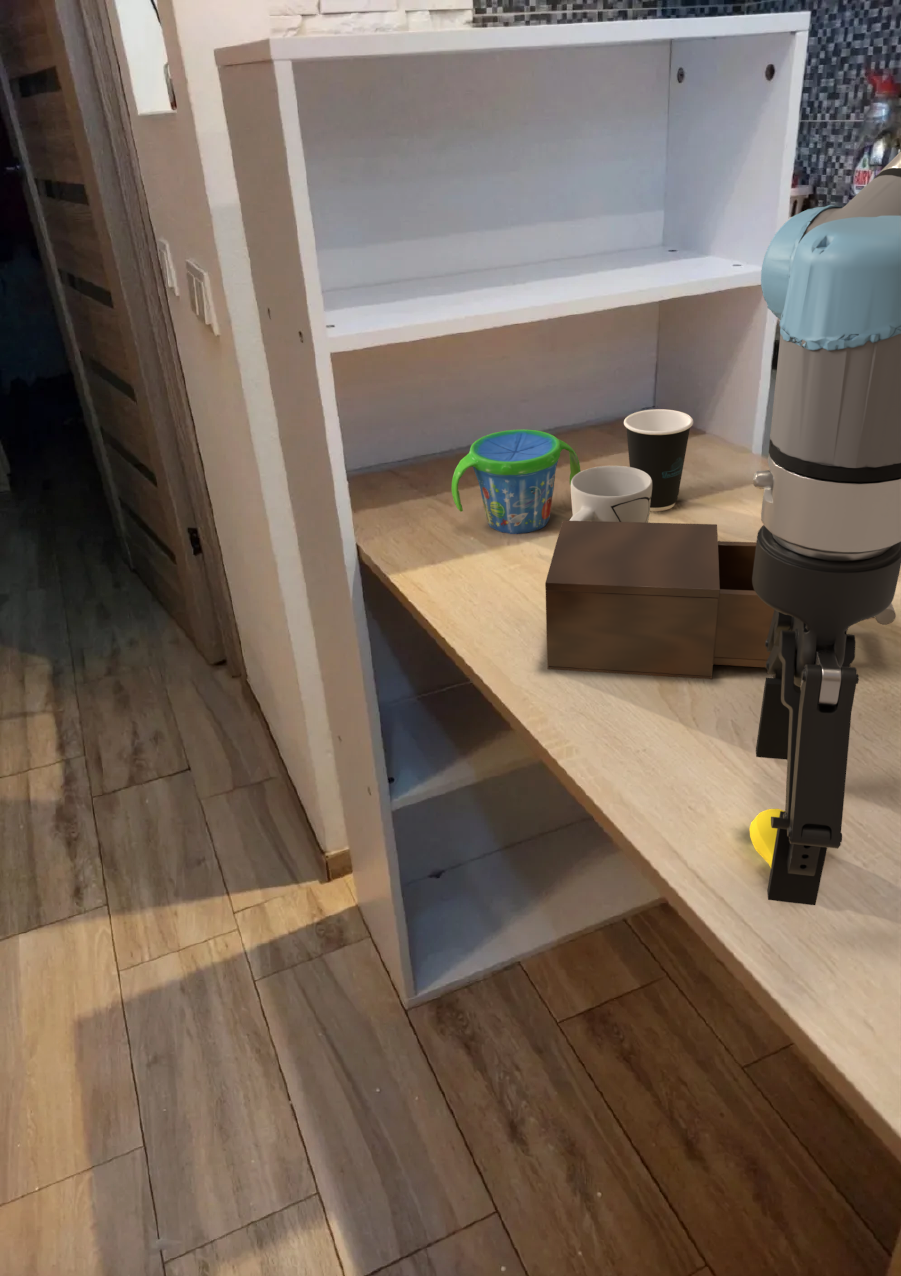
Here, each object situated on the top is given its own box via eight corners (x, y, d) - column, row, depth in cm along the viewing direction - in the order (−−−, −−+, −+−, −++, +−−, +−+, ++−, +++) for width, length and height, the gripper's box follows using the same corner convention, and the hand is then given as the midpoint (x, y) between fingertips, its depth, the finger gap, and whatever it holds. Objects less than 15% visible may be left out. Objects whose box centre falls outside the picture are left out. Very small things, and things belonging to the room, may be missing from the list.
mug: (604, 603, 95) (605, 514, 90) (539, 580, 100) (536, 495, 95) (663, 560, 102) (668, 475, 97) (600, 541, 107) (600, 459, 102)
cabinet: (709, 611, 92) (717, 524, 87) (711, 684, 82) (719, 589, 77) (563, 604, 96) (562, 520, 91) (547, 673, 85) (545, 582, 80)
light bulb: (778, 826, 67) (804, 801, 64) (801, 905, 63) (829, 881, 60) (736, 821, 66) (760, 795, 64) (755, 900, 62) (782, 876, 60)
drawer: (870, 613, 88) (884, 540, 84) (891, 682, 79) (908, 603, 75) (663, 604, 92) (666, 534, 88) (659, 668, 83) (663, 593, 79)
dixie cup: (626, 492, 118) (628, 408, 112) (690, 495, 116) (695, 409, 110) (617, 518, 112) (619, 431, 106) (684, 522, 110) (690, 433, 104)
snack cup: (463, 552, 107) (456, 470, 102) (448, 515, 116) (441, 438, 111) (593, 533, 109) (593, 451, 104) (568, 498, 118) (567, 421, 112)
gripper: (748, 447, 61) (720, 705, 73) (773, 650, 41) (729, 966, 52) (869, 448, 60) (821, 712, 71) (959, 661, 39) (872, 985, 51)
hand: (782, 820), depth 62 cm, fingers open, 13 cm apart
